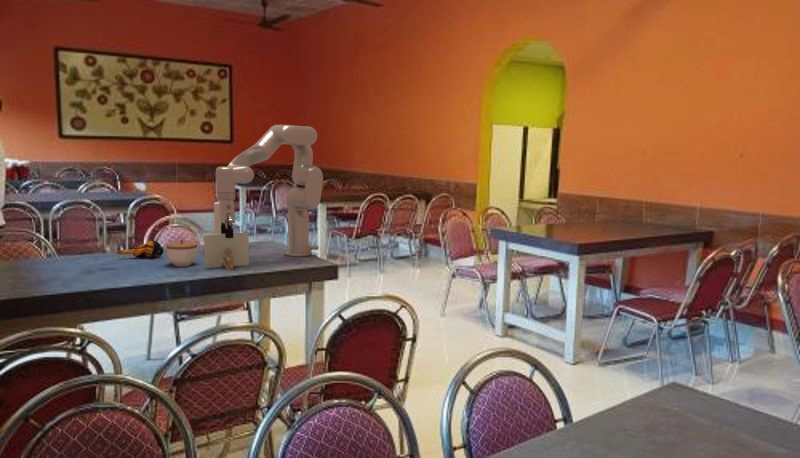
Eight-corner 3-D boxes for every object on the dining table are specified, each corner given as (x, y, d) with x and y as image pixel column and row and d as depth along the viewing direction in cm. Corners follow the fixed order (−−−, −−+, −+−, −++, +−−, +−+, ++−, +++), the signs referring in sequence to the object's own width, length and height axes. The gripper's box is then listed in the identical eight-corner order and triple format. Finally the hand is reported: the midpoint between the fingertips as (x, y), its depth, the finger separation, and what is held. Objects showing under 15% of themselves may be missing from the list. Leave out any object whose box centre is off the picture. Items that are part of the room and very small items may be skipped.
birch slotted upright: (226, 262, 269) (225, 244, 268) (233, 269, 256) (232, 250, 255) (221, 262, 268) (221, 244, 267) (228, 270, 255) (227, 251, 254)
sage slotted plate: (247, 264, 267) (247, 232, 265) (248, 265, 265) (248, 233, 263) (205, 267, 259) (204, 234, 257) (205, 268, 257) (205, 235, 255)
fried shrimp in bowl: (167, 248, 273) (126, 239, 262) (158, 268, 276) (117, 260, 265) (164, 238, 280) (124, 228, 269) (154, 257, 283) (114, 249, 272)
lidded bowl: (188, 268, 256) (187, 242, 254) (160, 266, 258) (159, 241, 256) (203, 262, 268) (202, 237, 266) (177, 260, 270) (176, 236, 269)
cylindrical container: (233, 256, 283) (232, 202, 279) (227, 259, 276) (226, 204, 272) (218, 255, 284) (217, 201, 280) (212, 258, 277) (211, 203, 273)
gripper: (239, 198, 251) (240, 239, 254) (230, 193, 267) (232, 232, 270) (220, 198, 248) (221, 240, 251) (213, 194, 263) (214, 233, 266)
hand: (227, 236), depth 260 cm, fingers open, 9 cm apart
